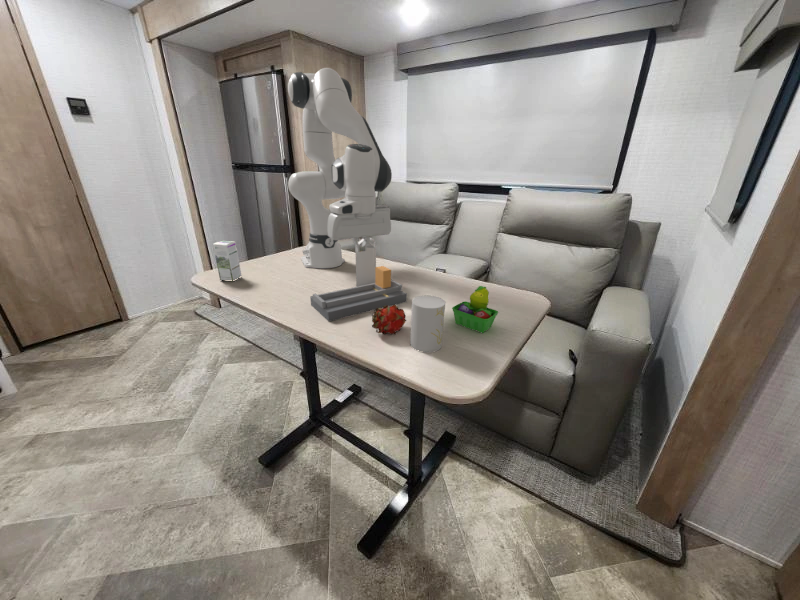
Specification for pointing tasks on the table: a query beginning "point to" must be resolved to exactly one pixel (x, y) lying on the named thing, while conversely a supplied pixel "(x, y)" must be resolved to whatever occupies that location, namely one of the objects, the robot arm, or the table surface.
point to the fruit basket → (475, 311)
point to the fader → (382, 278)
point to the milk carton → (366, 264)
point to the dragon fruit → (388, 319)
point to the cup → (427, 323)
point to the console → (356, 300)
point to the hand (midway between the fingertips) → (360, 251)
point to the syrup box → (227, 260)
